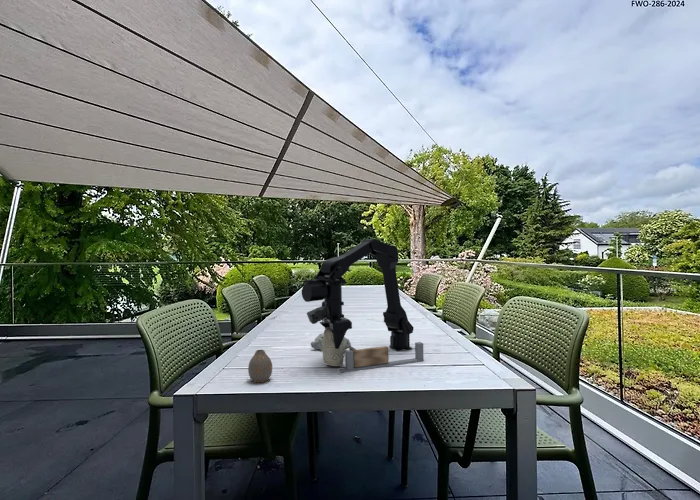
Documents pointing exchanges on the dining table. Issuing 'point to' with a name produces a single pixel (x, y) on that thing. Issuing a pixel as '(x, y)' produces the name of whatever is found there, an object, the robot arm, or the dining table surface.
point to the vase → (260, 367)
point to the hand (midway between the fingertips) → (333, 346)
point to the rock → (319, 342)
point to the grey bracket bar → (350, 363)
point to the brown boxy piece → (370, 356)
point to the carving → (332, 350)
